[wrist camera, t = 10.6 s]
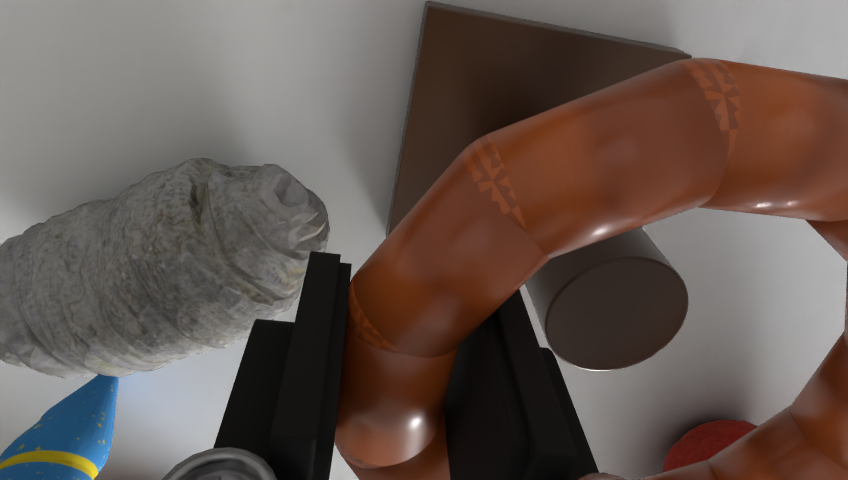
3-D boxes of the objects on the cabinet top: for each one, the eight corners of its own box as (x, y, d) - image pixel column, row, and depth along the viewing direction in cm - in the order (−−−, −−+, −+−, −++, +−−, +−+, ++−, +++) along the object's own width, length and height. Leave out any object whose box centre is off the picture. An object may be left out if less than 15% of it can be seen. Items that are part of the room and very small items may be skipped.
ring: (1080, 106, 9) (1246, 153, 7) (753, 521, 15) (802, 601, 13) (372, -6, 7) (369, 22, 6) (321, 511, 13) (313, 601, 11)
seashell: (-119, 262, 18) (-202, 446, 13) (244, 81, 21) (312, 165, 15) (23, 364, 23) (9, 537, 17) (310, 203, 25) (383, 305, 20)
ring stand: (676, 48, 19) (920, 160, 10) (591, 261, 24) (711, 464, 15) (425, 0, 18) (462, 81, 9) (385, 234, 22) (384, 440, 14)
